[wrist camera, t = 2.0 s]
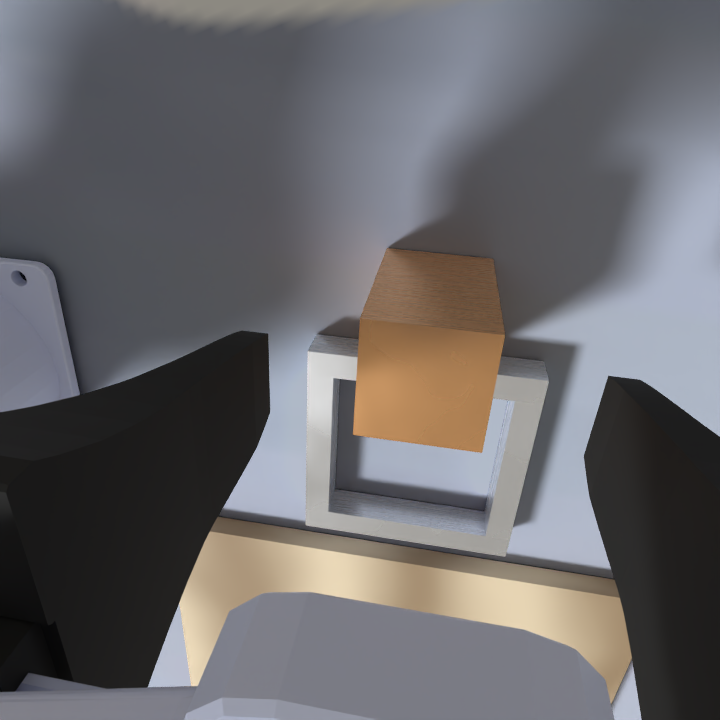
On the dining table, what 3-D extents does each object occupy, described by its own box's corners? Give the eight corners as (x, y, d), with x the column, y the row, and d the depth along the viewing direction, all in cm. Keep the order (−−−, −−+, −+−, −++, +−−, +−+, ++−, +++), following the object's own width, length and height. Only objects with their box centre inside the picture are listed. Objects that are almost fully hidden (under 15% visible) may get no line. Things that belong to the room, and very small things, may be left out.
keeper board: (204, 714, 29) (170, 800, 26) (177, 510, 23) (126, 590, 19) (562, 785, 27) (577, 889, 24) (650, 585, 21) (687, 689, 17)
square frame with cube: (318, 240, 17) (267, 307, 12) (566, 266, 16) (606, 346, 11) (313, 502, 21) (274, 617, 17) (503, 531, 21) (514, 659, 16)
